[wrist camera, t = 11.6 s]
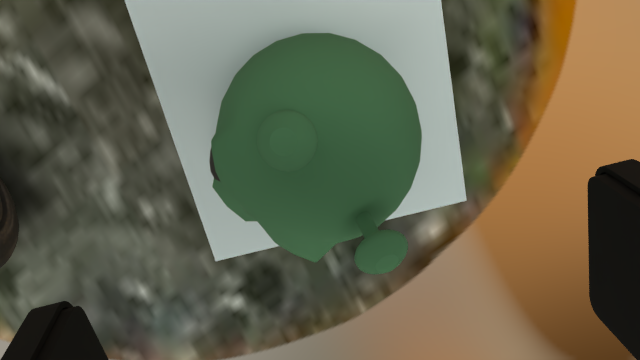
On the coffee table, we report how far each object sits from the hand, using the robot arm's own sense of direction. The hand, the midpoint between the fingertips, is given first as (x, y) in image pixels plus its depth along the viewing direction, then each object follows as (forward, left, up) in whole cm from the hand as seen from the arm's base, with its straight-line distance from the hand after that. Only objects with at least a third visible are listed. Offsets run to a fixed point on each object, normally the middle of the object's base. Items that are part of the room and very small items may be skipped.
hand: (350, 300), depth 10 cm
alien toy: (0, 0, -14) cm, 14 cm away
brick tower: (0, 0, -25) cm, 25 cm away
